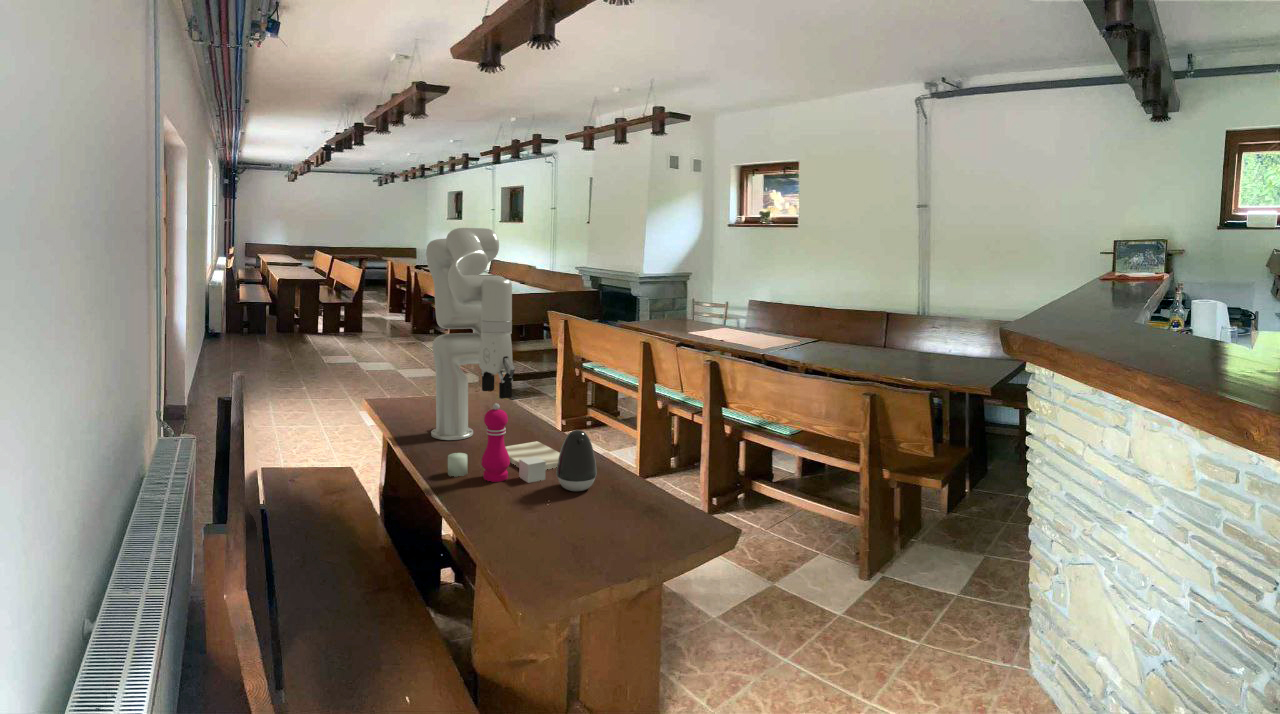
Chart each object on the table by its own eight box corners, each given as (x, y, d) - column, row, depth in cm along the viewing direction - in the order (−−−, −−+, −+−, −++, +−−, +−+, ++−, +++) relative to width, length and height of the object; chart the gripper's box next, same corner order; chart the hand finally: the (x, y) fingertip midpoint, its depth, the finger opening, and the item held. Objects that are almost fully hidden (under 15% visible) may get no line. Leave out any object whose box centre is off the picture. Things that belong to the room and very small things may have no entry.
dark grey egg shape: (559, 496, 181) (560, 436, 179) (553, 482, 191) (554, 425, 188) (600, 494, 184) (602, 435, 181) (591, 480, 194) (593, 424, 191)
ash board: (494, 453, 213) (494, 448, 212) (537, 446, 221) (537, 441, 221) (528, 473, 197) (528, 467, 197) (572, 464, 205) (573, 459, 205)
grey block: (519, 477, 194) (519, 459, 193) (535, 474, 197) (536, 456, 196) (528, 483, 190) (528, 464, 189) (545, 479, 193) (545, 461, 192)
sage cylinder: (444, 472, 195) (444, 454, 194) (462, 469, 198) (462, 451, 197) (452, 478, 191) (452, 459, 190) (470, 475, 194) (470, 456, 193)
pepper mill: (503, 484, 188) (504, 407, 185) (477, 481, 190) (477, 405, 186) (513, 475, 195) (514, 401, 192) (488, 472, 197) (488, 399, 193)
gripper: (468, 324, 190) (468, 389, 193) (498, 332, 176) (498, 402, 179) (494, 323, 194) (494, 386, 197) (526, 330, 181) (526, 399, 184)
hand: (496, 394), depth 188 cm, fingers open, 9 cm apart
